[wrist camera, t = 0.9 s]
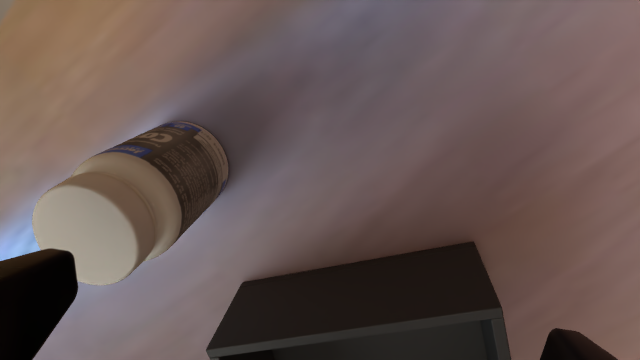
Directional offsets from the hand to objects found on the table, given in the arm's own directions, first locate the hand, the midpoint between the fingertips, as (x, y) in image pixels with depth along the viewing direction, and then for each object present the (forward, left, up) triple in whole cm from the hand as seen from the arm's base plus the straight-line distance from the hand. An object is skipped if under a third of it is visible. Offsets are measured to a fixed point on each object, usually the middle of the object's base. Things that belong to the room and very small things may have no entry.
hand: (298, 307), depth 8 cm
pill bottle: (0, +9, -14) cm, 16 cm away
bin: (-14, +2, -14) cm, 19 cm away
